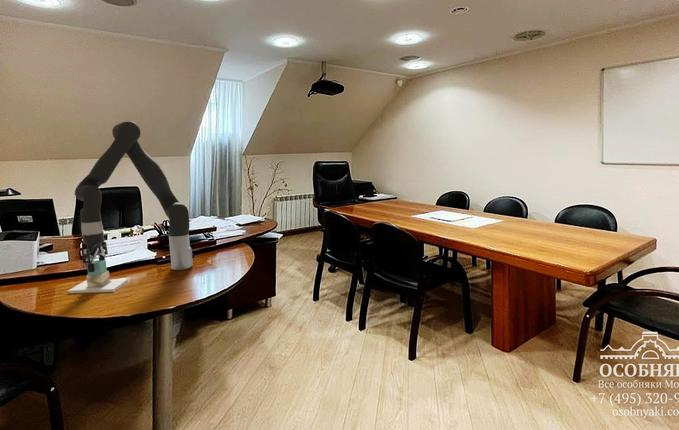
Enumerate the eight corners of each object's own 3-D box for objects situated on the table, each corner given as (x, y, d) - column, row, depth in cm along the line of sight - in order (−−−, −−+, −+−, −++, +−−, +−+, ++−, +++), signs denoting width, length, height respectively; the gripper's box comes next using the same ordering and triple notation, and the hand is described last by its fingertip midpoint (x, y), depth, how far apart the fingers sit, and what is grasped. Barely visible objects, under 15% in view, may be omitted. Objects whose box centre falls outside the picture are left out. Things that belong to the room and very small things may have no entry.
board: (127, 281, 163) (127, 278, 163) (114, 291, 152) (113, 288, 151) (85, 282, 162) (85, 280, 162) (68, 293, 150) (68, 290, 150)
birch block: (110, 281, 160) (108, 270, 159) (102, 286, 154) (101, 275, 153) (95, 282, 159) (94, 271, 158) (87, 287, 153) (86, 275, 152)
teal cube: (106, 271, 158) (105, 260, 158) (100, 275, 154) (99, 263, 153) (94, 271, 158) (93, 260, 157) (88, 275, 153) (86, 264, 152)
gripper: (93, 228, 159) (97, 263, 162) (72, 236, 145) (77, 274, 148) (111, 228, 160) (115, 263, 163) (92, 235, 146) (97, 274, 149)
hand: (97, 268), depth 155 cm, fingers open, 8 cm apart
